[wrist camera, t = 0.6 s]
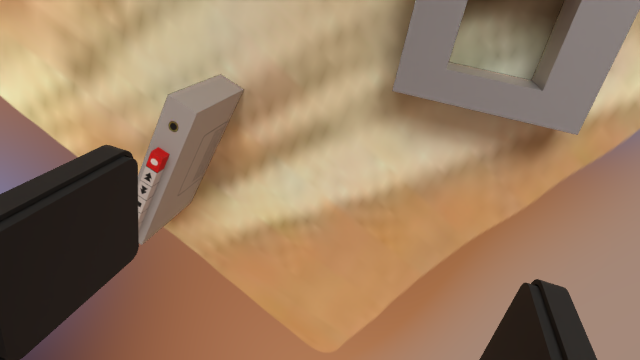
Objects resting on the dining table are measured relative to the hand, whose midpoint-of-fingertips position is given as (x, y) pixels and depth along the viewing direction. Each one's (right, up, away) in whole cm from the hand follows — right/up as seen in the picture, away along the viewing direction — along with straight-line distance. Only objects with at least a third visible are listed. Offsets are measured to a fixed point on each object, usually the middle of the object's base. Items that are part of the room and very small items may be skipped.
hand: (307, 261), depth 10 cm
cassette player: (-12, +6, +34) cm, 37 cm away
